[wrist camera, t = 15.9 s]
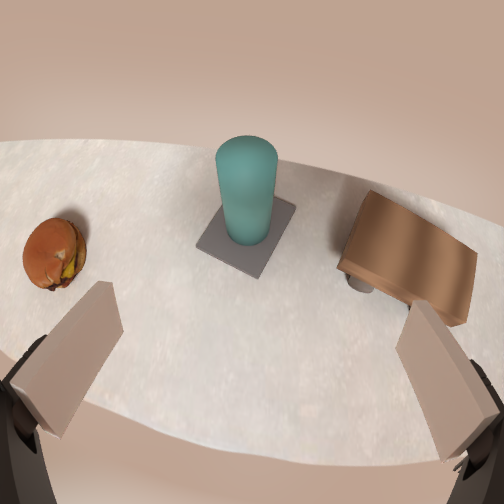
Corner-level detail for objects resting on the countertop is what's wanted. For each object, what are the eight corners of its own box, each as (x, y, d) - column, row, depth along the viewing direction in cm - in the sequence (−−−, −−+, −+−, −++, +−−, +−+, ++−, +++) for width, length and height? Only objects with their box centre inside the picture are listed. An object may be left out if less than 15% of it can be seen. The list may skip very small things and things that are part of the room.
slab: (451, 269, 32) (477, 253, 27) (436, 331, 29) (466, 322, 24) (354, 215, 35) (370, 189, 29) (329, 276, 32) (344, 258, 26)
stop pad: (295, 209, 35) (296, 206, 35) (257, 279, 32) (258, 277, 31) (238, 183, 36) (238, 181, 36) (196, 247, 33) (195, 245, 33)
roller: (276, 217, 34) (287, 147, 23) (257, 252, 32) (261, 190, 21) (238, 201, 35) (234, 129, 24) (218, 234, 33) (203, 167, 22)
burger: (43, 229, 34) (26, 215, 30) (91, 223, 35) (75, 206, 30) (32, 294, 31) (12, 285, 26) (82, 294, 31) (63, 284, 27)
